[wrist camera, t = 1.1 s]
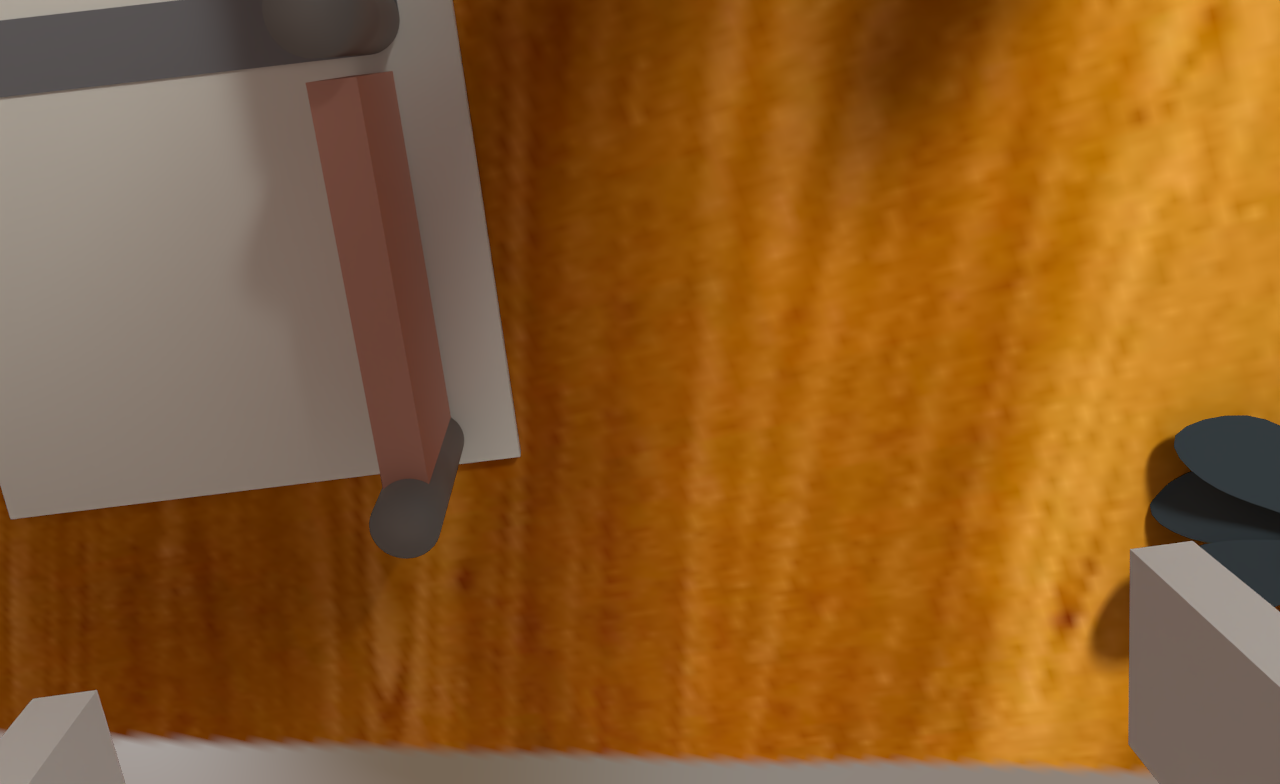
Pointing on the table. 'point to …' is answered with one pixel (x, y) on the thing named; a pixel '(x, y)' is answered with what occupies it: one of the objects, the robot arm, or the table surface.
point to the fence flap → (388, 306)
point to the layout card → (211, 255)
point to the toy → (1230, 497)
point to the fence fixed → (331, 26)
